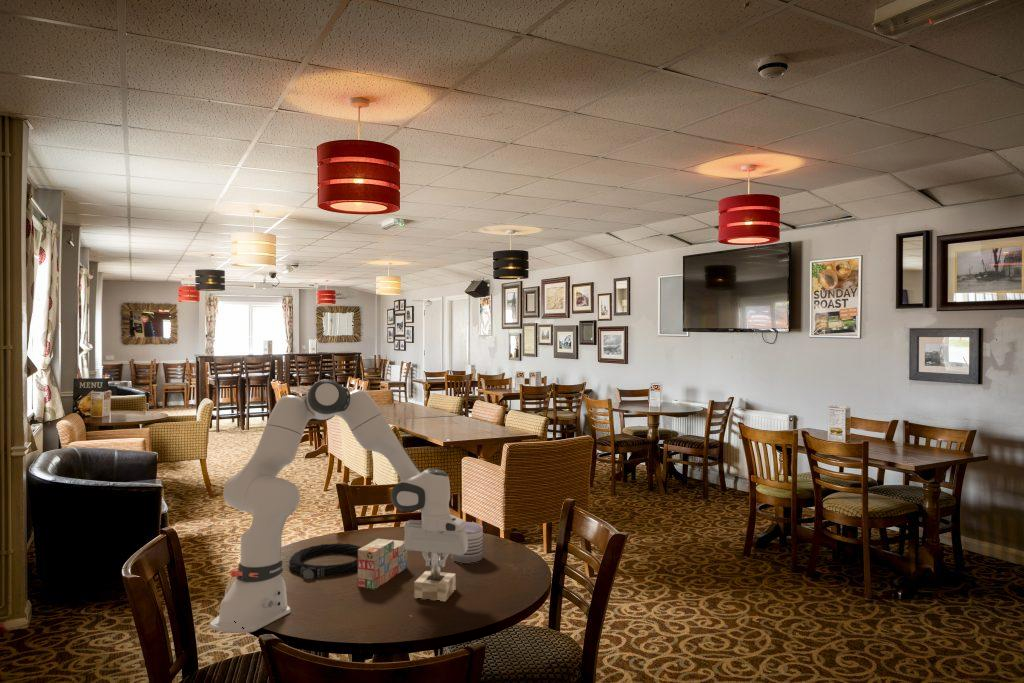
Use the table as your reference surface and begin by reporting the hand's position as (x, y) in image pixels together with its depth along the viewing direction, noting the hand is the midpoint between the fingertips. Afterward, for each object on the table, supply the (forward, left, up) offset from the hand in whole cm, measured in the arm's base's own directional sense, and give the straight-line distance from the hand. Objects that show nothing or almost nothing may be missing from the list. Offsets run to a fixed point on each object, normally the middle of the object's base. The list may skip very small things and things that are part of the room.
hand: (435, 566), depth 206 cm
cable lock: (+16, +45, -9) cm, 49 cm away
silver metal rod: (0, 0, -6) cm, 6 cm away
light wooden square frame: (0, 0, -8) cm, 9 cm away
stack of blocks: (+9, +21, -9) cm, 25 cm away
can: (+34, 0, -9) cm, 35 cm away
